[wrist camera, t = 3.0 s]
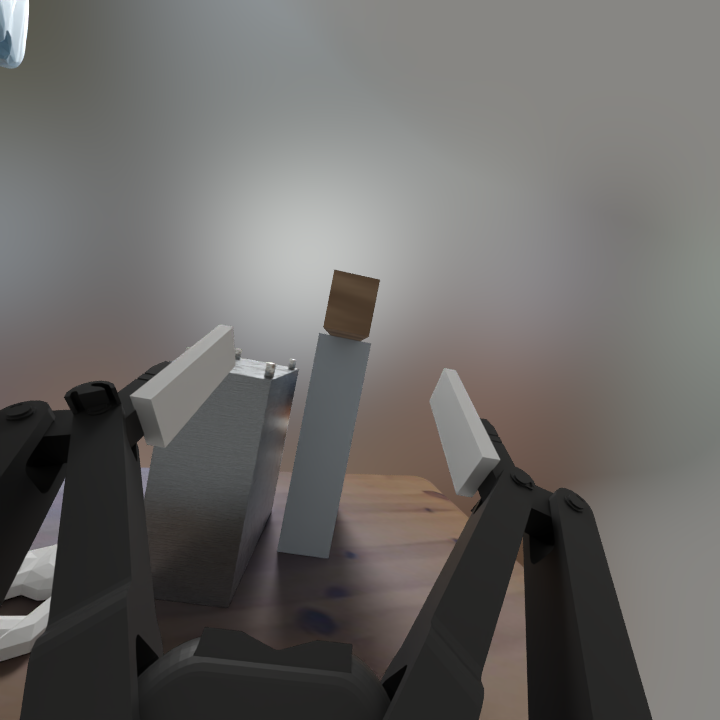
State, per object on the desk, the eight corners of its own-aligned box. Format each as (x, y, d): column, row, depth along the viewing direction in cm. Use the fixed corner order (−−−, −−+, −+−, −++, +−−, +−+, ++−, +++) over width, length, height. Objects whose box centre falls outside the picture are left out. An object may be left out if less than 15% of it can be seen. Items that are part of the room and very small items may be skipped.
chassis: (126, 595, 26) (171, 346, 25) (209, 501, 42) (238, 347, 41) (227, 607, 26) (273, 365, 26) (271, 511, 42) (300, 360, 42)
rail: (368, 336, 22) (379, 279, 22) (323, 327, 22) (334, 269, 22) (354, 344, 50) (359, 319, 50) (334, 340, 50) (339, 315, 50)
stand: (277, 551, 35) (319, 333, 34) (296, 493, 49) (326, 338, 48) (328, 558, 35) (370, 343, 34) (332, 499, 49) (363, 345, 48)
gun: (113, 486, 36) (183, 502, 36) (110, 509, 36) (179, 524, 36) (-145, 637, 18) (-4, 668, 18) (-148, 680, 18) (-9, 711, 18)
